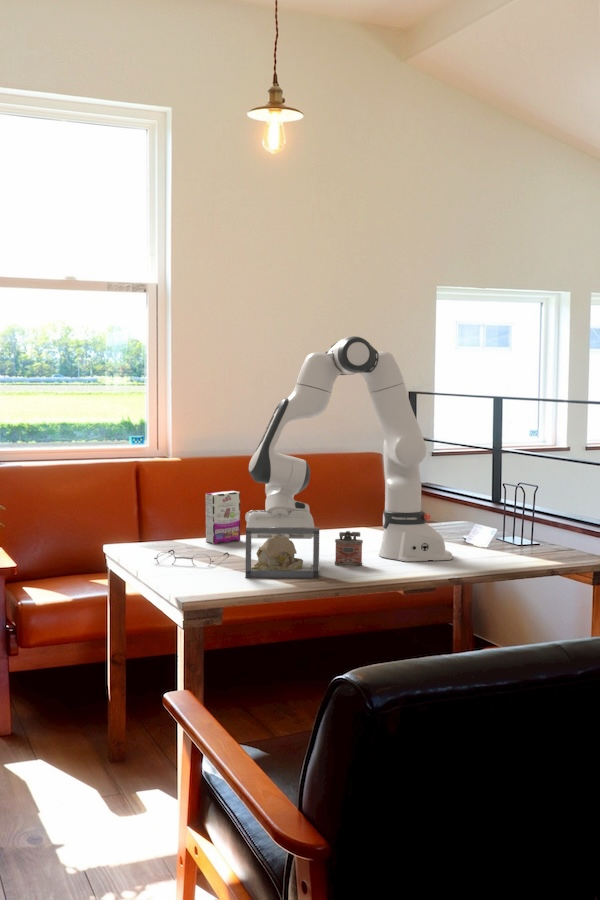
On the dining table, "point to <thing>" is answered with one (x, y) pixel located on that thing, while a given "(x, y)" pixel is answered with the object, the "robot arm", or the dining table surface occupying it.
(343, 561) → the lighter
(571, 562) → the dining table surface
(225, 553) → the eyeglasses
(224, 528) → the candy bar box
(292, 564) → the ceramic model
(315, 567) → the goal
